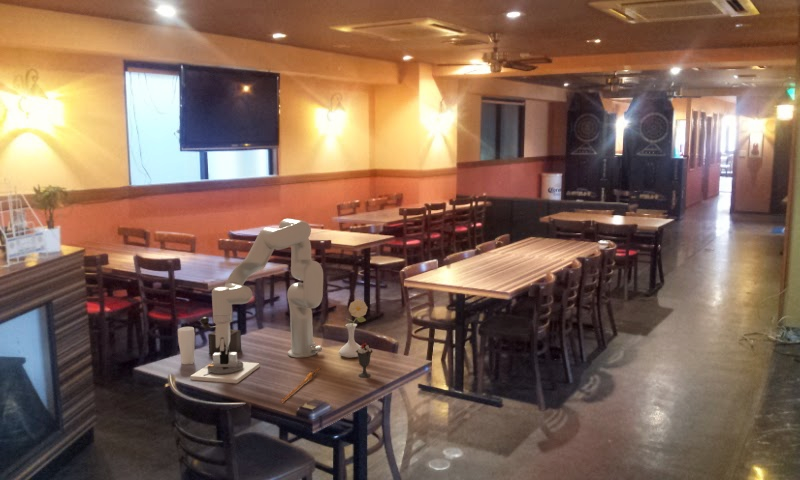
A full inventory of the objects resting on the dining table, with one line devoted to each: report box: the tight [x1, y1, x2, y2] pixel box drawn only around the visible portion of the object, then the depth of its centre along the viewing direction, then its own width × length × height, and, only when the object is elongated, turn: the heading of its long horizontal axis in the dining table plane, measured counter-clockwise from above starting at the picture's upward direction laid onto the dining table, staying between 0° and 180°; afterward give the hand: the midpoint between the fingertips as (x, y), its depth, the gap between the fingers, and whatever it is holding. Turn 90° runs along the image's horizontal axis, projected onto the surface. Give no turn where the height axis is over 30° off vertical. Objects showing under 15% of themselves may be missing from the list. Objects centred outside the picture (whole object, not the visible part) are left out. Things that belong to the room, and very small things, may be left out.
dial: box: [207, 352, 243, 374], centre depth 277 cm, size 14×14×6 cm
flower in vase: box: [338, 299, 369, 359], centre depth 296 cm, size 13×11×25 cm
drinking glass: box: [177, 326, 196, 366], centre depth 289 cm, size 7×7×15 cm
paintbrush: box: [280, 366, 321, 404], centre depth 261 cm, size 1×35×3 cm, turn 164°
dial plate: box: [190, 361, 260, 384], centre depth 277 cm, size 20×20×2 cm
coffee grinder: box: [199, 316, 242, 356], centre depth 300 cm, size 16×11×18 cm
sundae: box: [356, 339, 373, 378], centre depth 271 cm, size 7×7×15 cm
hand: (225, 361), depth 277 cm, fingers closed on dial, 3 cm apart
